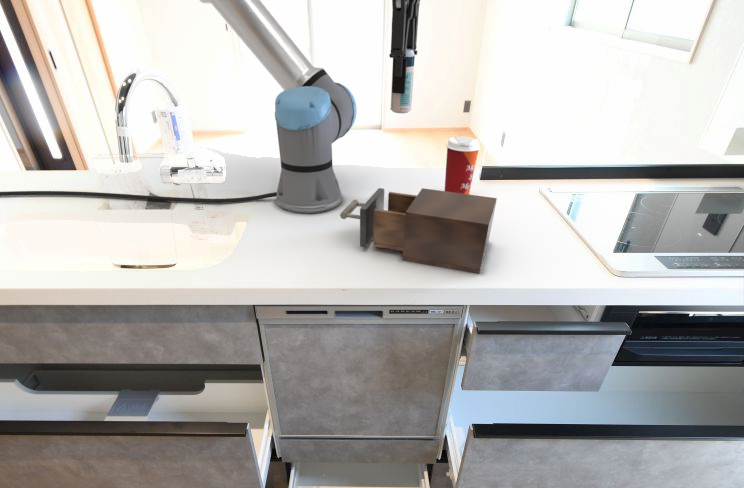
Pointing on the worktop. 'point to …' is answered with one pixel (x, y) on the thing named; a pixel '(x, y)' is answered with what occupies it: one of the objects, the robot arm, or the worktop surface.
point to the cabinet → (448, 229)
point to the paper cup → (460, 163)
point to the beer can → (403, 101)
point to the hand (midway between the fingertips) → (401, 90)
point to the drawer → (381, 219)
